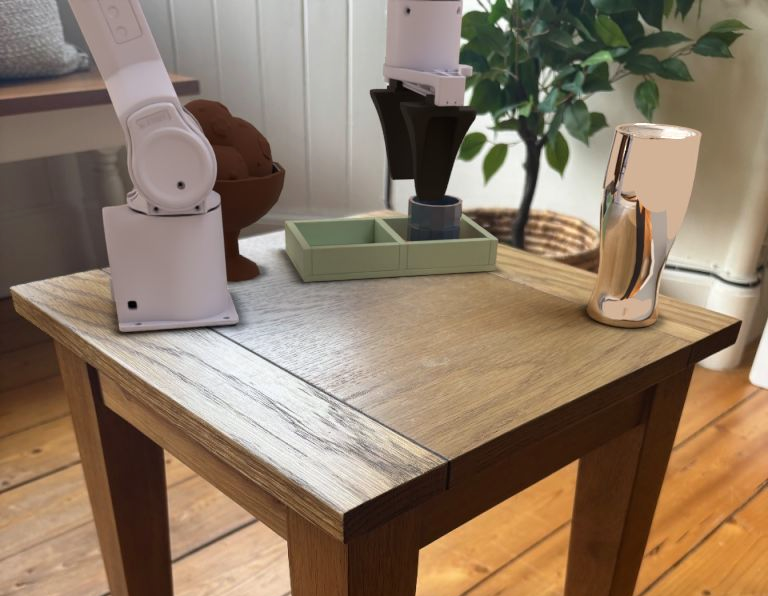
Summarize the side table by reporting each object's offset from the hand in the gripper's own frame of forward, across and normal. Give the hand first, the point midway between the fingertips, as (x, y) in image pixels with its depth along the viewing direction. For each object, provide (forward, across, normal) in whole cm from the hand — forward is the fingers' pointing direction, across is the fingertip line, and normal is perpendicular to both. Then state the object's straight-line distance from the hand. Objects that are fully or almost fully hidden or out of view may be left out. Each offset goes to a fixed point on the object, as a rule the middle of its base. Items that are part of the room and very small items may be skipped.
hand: (416, 189), depth 69 cm
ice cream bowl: (+10, +10, +15) cm, 20 cm away
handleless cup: (+9, +11, -6) cm, 15 cm away
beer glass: (+10, -8, -17) cm, 21 cm away
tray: (+9, +11, -1) cm, 15 cm away
